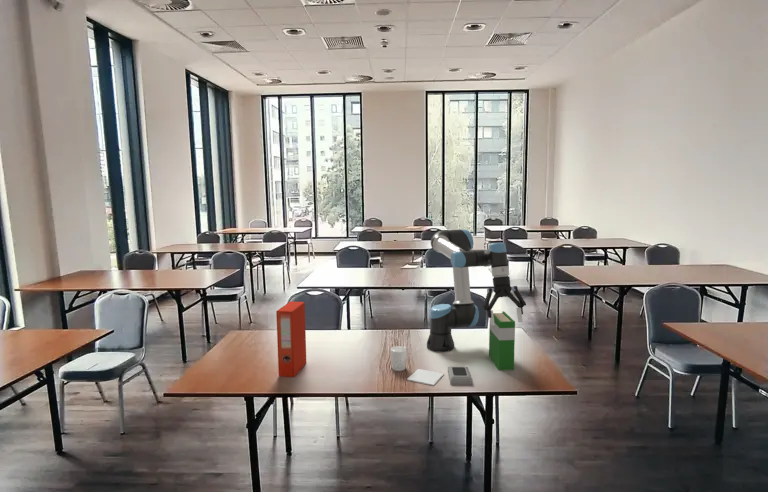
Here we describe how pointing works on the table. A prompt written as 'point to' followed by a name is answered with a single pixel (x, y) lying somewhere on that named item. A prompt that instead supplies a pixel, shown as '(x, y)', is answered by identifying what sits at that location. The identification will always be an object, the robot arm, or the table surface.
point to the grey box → (459, 375)
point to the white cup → (398, 358)
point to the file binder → (291, 338)
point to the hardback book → (502, 341)
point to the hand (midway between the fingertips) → (506, 323)
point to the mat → (425, 377)
